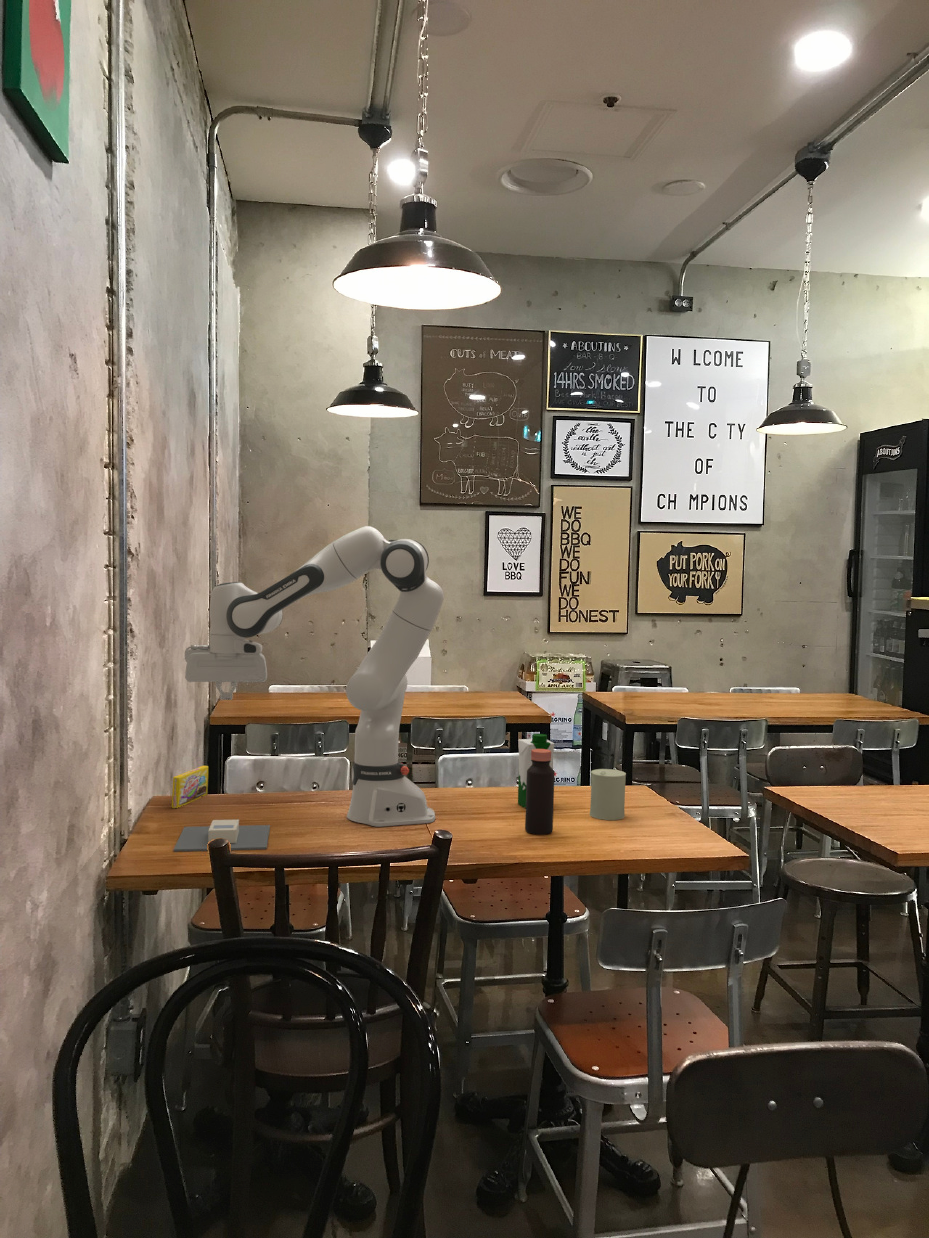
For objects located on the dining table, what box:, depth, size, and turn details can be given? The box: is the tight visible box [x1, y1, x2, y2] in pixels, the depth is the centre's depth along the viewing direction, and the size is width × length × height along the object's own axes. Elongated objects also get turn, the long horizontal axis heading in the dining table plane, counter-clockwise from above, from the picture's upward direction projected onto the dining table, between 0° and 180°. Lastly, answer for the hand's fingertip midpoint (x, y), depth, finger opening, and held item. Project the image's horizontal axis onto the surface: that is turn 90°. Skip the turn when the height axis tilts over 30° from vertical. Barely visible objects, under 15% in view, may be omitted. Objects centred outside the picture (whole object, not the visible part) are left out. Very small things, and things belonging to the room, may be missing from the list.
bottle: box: [524, 749, 555, 836], centre depth 219 cm, size 7×7×20 cm
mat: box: [172, 824, 271, 853], centre depth 207 cm, size 20×18×1 cm
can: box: [589, 768, 627, 821], centre depth 236 cm, size 9×9×12 cm
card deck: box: [208, 819, 240, 843], centre depth 206 cm, size 6×3×9 cm
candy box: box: [171, 765, 209, 809], centre depth 240 cm, size 16×2×8 cm, turn 168°
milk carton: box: [517, 733, 555, 810], centre depth 244 cm, size 9×9×20 cm
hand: (226, 699), depth 229 cm, fingers closed
